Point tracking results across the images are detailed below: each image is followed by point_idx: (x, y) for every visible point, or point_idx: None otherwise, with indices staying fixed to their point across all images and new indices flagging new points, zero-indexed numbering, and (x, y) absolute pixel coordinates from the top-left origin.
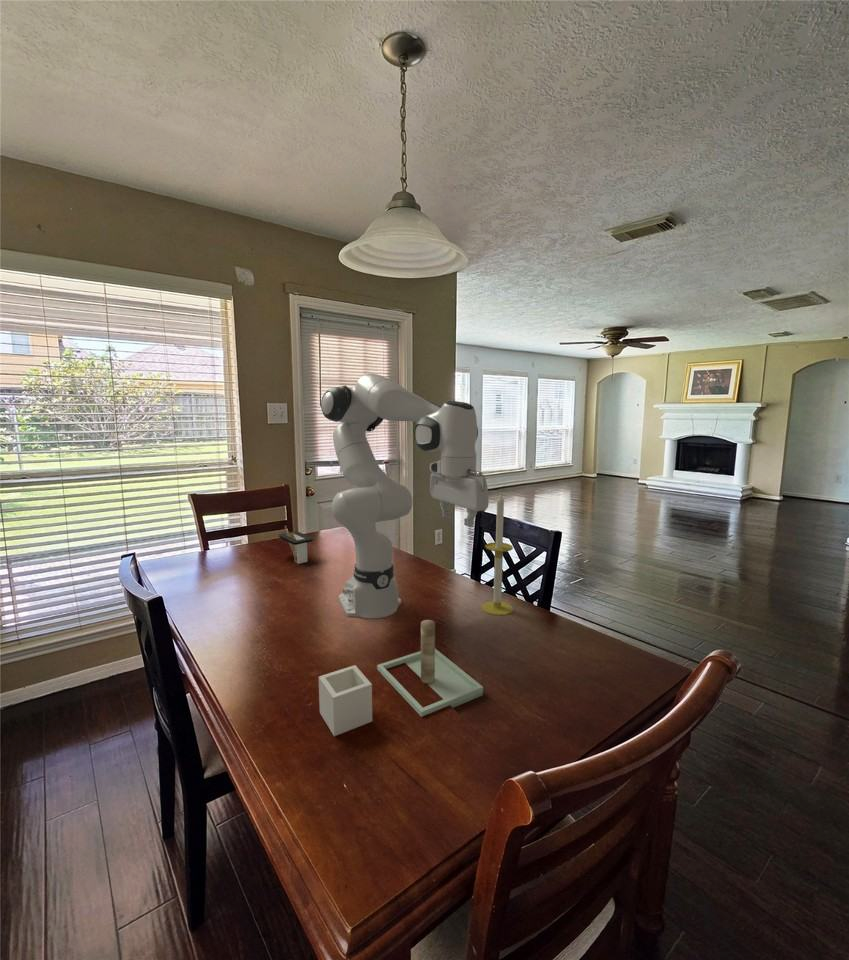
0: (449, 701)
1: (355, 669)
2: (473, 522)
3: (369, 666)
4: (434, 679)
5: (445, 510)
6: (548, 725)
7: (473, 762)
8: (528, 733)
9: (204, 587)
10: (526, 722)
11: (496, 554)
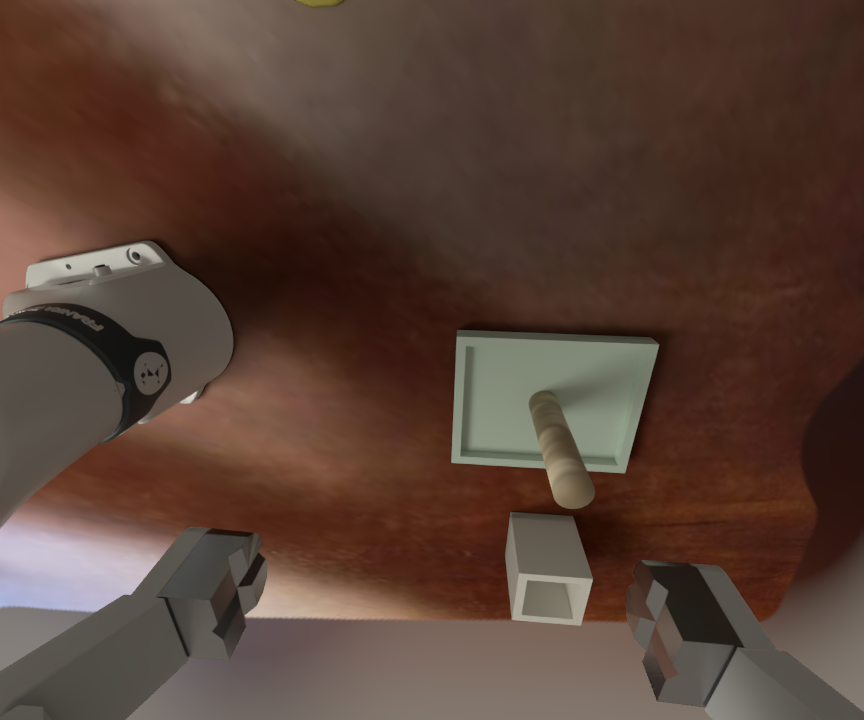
0: (638, 421)
1: (532, 578)
2: (740, 596)
3: (423, 452)
4: (555, 397)
5: (171, 651)
6: (818, 294)
7: (748, 453)
8: (793, 343)
9: None
10: (774, 324)
11: None
